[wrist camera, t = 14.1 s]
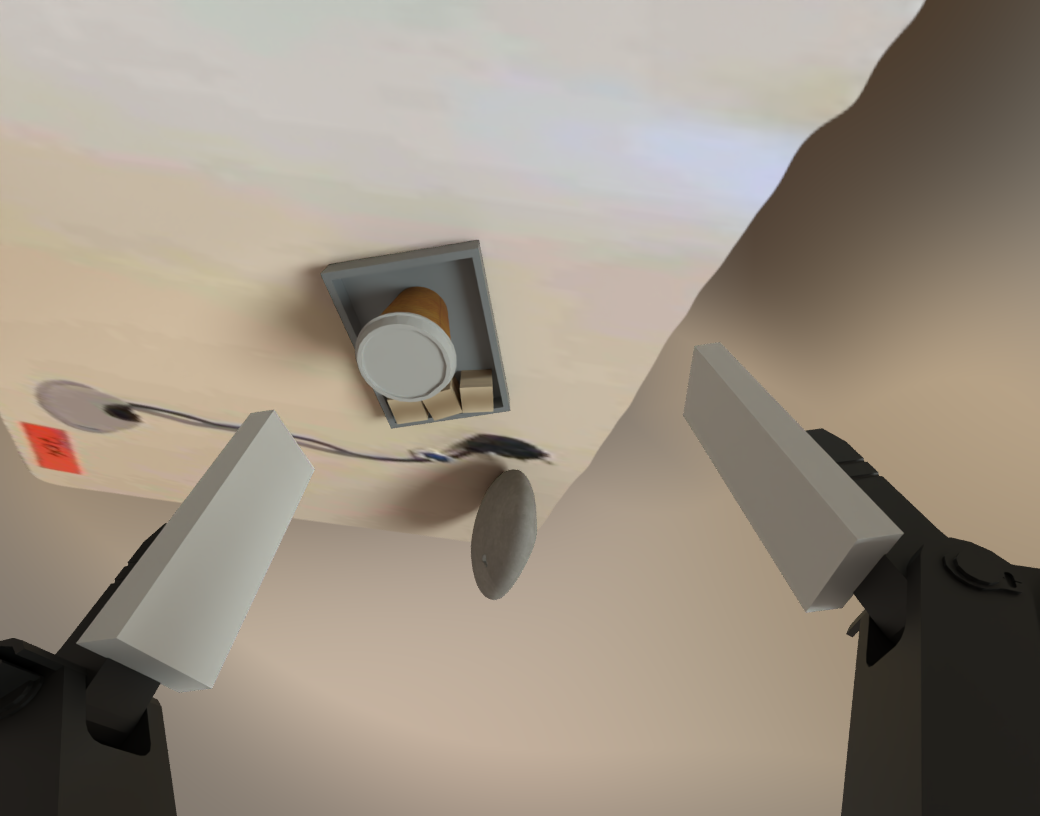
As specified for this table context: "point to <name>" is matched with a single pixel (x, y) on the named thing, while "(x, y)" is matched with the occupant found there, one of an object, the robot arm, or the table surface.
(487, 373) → the block
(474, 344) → the tray
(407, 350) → the disposable coffee cup
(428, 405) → the block
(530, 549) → the dark grey disc
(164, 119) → the table surface
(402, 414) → the block
